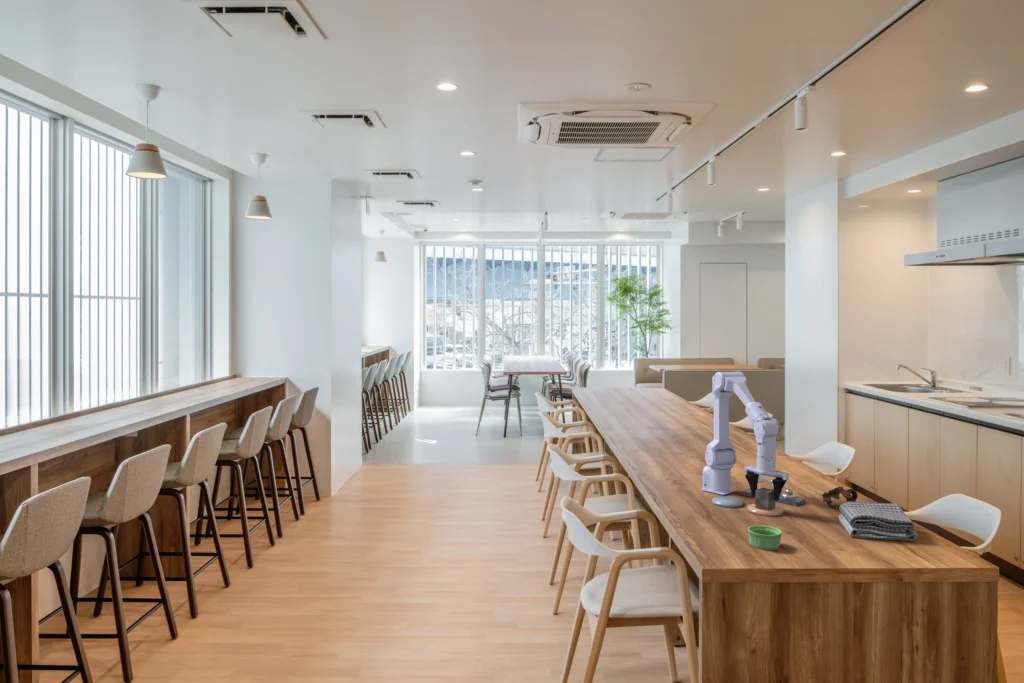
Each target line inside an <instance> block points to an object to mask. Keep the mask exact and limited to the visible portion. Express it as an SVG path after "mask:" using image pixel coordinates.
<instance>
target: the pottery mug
mask: <svg viewBox="0 0 1024 683" xmlns="http://www.w3.org/2000/svg"><path fill="white" fill-rule="evenodd" d="M840 494H841V495H842V497H843V498H844V499H846V502H857V499H858V492H857V491H856V490H855V489H853V488H849V489H844V487H843V486H838V487H835V488H833V489H830V490H828V492H824V493H822V495H821V496H822V503H826V504H827V505H828V506H830V505H831V504H832V503H833V501H832V500H831V498H833V499H836V500H841V497H840Z"/></svg>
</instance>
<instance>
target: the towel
mask: <svg viewBox="0 0 1024 683" xmlns="http://www.w3.org/2000/svg"><path fill="white" fill-rule="evenodd" d="M838 510H839V511H840V513H839V515H838V521H839V523H840V524H841V525H842V527H843V528H844V529H845V530H846V531H847V533H848V535H849V536H850V537H853V538H857V539H870V540H871V539H872V540H873V539H874V540H888V541H889V540H891V541H893V540H895V541H910V542H915V541H916V540H917V538H918V535H919V534H918V533H916V531H915V530H916V529H915V523H914V521H912V520H911V519H910V518H909V517H908V516H907V515H906V514H905V512H904V510H903V509H902V507H901V505H900V503H896V502H895V503H894V502H893V503H886V502H885V503H884V502H868V501H867V502H863V501H855V502H847V501H846V502H844V503H842V504H840V505H839V506H838Z"/></svg>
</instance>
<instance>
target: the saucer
mask: <svg viewBox="0 0 1024 683" xmlns="http://www.w3.org/2000/svg"><path fill="white" fill-rule="evenodd" d="M711 504H713V505H714V506H718V507H721V508H732V509H735V508H736V509H737V508H741V507H744V502H743V499H740V498H736V497H733V496H715V497H713V498H712V500H711Z"/></svg>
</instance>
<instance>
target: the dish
mask: <svg viewBox="0 0 1024 683" xmlns="http://www.w3.org/2000/svg"><path fill="white" fill-rule="evenodd" d="M746 510H747V511H748V512H749V513H750V514H753V515H756V516H757V515H758V516H763V517H778V516H782V515H784V508H782V507H780V506H777V505H775V509H772V510H770V511H766V510H762V509H757V508H755V503H751V504H750V503H749V504H748V505H747V508H746Z"/></svg>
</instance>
